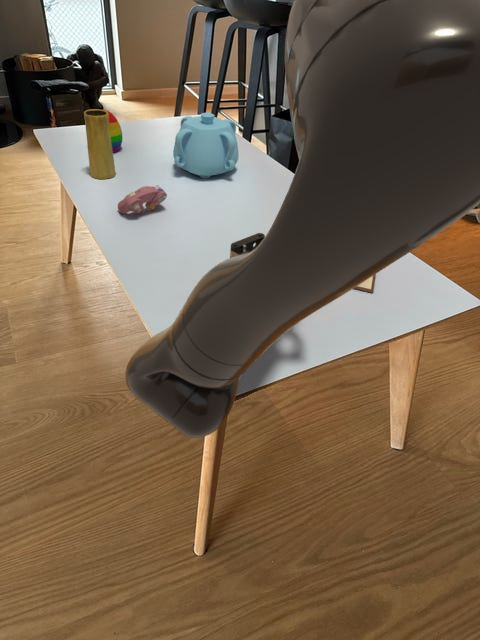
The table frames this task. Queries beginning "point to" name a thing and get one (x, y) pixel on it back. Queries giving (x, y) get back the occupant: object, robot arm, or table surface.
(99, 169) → the vase
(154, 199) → the video game controller
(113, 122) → the decorative egg
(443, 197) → the robot arm
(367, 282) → the board
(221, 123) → the decorative pot
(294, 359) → the table surface
